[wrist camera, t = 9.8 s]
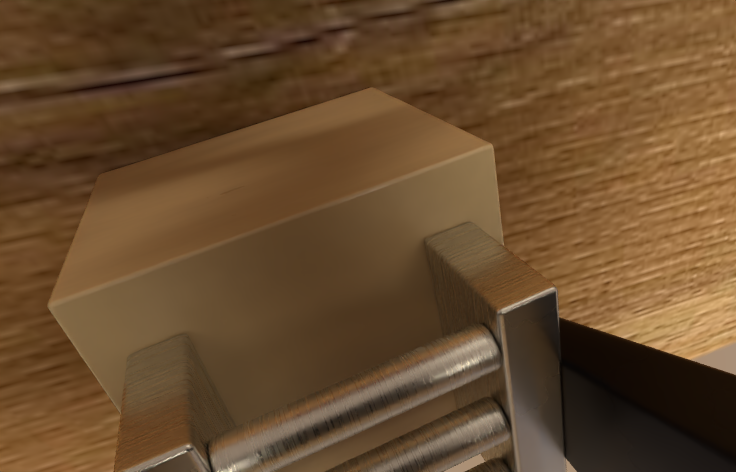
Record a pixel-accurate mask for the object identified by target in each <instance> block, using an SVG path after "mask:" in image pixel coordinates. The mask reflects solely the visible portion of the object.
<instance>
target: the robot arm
mask: <svg viewBox="0 0 736 472" xmlns="http://www.w3.org/2000/svg"><path fill="white" fill-rule="evenodd" d="M559 328H560V349H561V376H562V396H563V417H564V438H565V457H566V459H567V460H568V461H569V462H570V464H571V465H572V466H573V467H574V468H575V470H576V471H577V472H736V375H734V374H731V373H728V372H725V371H722V370H718V369H716V368H712V367H710V366H707V365H704V364H700V363H697V362H694V361H691V360H688V359H685V358H682V357H679V356H676V355H673V354H670V353H667V352H664V351H661V350H658V349H654V348H651V347H648V346H645V345H642V344H639V343H636V342H633V341H630V340H627V339H624V338H621V337H618V336H615V335H612V334H609V333H605V332H602V331H599V330H596V329H593V328H590V327H587V326H584V325H581V324H578V323H575V322H572V321H569V320H566V319H563V318H559Z"/></svg>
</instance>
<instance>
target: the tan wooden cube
mask: <svg viewBox="0 0 736 472" xmlns="http://www.w3.org/2000/svg"><path fill="white" fill-rule="evenodd" d="M466 222H473V223H474V224H476V225H477V226H478V227H479V228H481V229H482V230H483V231H485V232H486V233H487V234H489V235H490V236H491V237H492V238H494V239H495V240H496V241H498V242H499V243H500V244H502V245H503V246H504V240H503V231H502V222H501V212H500V203H499V194H498V185H497V175H496V166H495V157H494V147H493V145H492V144H491V143H489V142H487V141H485V140H483V139H481V138H479V137H476V136H474V135H472V134H470V133H468V132H466V131H464V130H462V129H460V128H457V127H455V126H453V125H451V124H449V123H447V122H445V121H443V120H441V119H439V118H436V117H434V116H432V115H430V114H428V113H426V112H424V111H422V110H420V109H417V108H415V107H413V106H411V105H409V104H407V103H405V102H403V101H401V100H399V99H396V98H394V97H392V96H390V95H388V94H386V93H384V92H382V91H380V90H378V89H375V88H373V87H370V88H367V89H364V90H361V91H358V92H355V93H352V94H349V95H345V96H342V97H339V98H336V99H333V100H330V101H327V102H324V103H321V104H317V105H314V106H311V107H308V108H305V109H302V110H299V111H296V112H292V113H289V114H286V115H283V116H280V117H277V118H274V119H271V120H268V121H264V122H261V123H258V124H255V125H252V126H249V127H246V128H243V129H240V130H236V131H233V132H230V133H227V134H224V135H221V136H218V137H215V138H212V139H208V140H205V141H202V142H199V143H196V144H193V145H190V146H187V147H184V148H180V149H177V150H174V151H171V152H168V153H165V154H162V155H159V156H155V157H152V158H149V159H146V160H143V161H140V162H137V163H134V164H131V165H127V166H124V167H121V168H118V169H115V170H112V171H109V172H106V173H103V174H100V175H99V176H98V178H97V180H96V183H95V185H94V188H93V190H92V193H91V196H90V198H89V201H88V203H87V206H86V208H85V211H84V213H83V216H82V218H81V221H80V223H79V226H78V228H77V231H76V233H75V236H74V238H73V241H72V243H71V246H70V248H69V251H68V254H67V256H66V259H65V261H64V264H63V266H62V269H61V271H60V274H59V276H58V279H57V281H56V284H55V286H54V289H53V291H52V294H51V296H50V299H49V301H48V309H49V310H50V312H51V313H52V314H53V316H54V317H55V319H56V320H57V322H58V323H59V325H60V326H61V328H62V329H63V331H64V332H65V333H66V335H67V336H68V338H69V339H70V341H71V342H72V344H73V345H74V347H75V348H76V350H77V351H78V352H79V354H80V355H81V357H82V358H83V360H84V361H85V363H86V364H87V366H88V367H89V369H90V370H91V372H92V373H93V374H94V376H95V377H96V379H97V380H98V382H99V383H100V385H101V386H102V388H103V389H104V391H105V392H106V393H107V395H108V396H109V398H110V399H111V401H112V402H113V404H114V405H115V407H116V408H117V410H118V411H119V412H120V414H121V407H122V399H123V391H124V382H125V374H126V366H127V358H128V356H129V355H130V354H132V353H134V352H136V351H139V350H141V349H144V348H147V347H149V346H152V345H154V344H157V343H159V342H162V341H164V340H167V339H170V338H172V337H175V336H177V335H180V334H185V333H186V334H187V335H188V336H189V337H190V339H191V341H192V343H193V344H194V346H195V348H196V350H197V352H198V354H199V356H200V358H201V360H202V362H203V363H204V365H205V367H206V369H207V371H208V373H209V375H210V377H211V379H212V381H213V382H214V384H215V386H216V388H217V390H218V392H219V394H220V396H221V398H222V400H223V401H224V403H225V405H226V407H227V409H228V411H229V413H230V415H231V417H232V419H233V420H234V422H235V424H236V426H238V425H241V424H243V423H245V422H248V421H250V420H252V419H254V418H257V417H259V416H261V415H264V414H266V413H268V412H271V411H273V410H275V409H278V408H280V407H282V406H284V405H287V404H289V403H291V402H294V401H296V400H298V399H301V398H303V397H305V396H308V395H310V394H312V393H315V392H317V391H319V390H321V389H324V388H326V387H328V386H331V385H333V384H335V383H338V382H340V381H342V380H345V379H347V378H349V377H351V376H354V375H356V374H358V373H361V372H363V371H365V370H368V369H370V368H372V367H375V366H377V365H379V364H382V363H384V362H386V361H388V360H391V359H393V358H395V357H398V356H400V355H402V354H405V353H407V352H409V351H412V350H414V349H416V348H418V347H421V346H423V345H425V344H428V343H430V342H432V341H435V340H437V339H439V338H442V337H443V334H442V329H441V324H440V319H439V314H438V309H437V304H436V299H435V294H434V289H433V284H432V279H431V274H430V269H429V264H428V259H427V254H426V249H425V244H424V240H425V239H426V238H428V237H430V236H433V235H435V234H438V233H440V232H443V231H446V230H448V229H451V228H453V227H456V226H458V225H461V224H463V223H466ZM455 410H457V405H456V400H455V395H454V390H452V391H450V392H447V393H445V394H443V395H441V396H439V397H436V398H434V399H432V400H430V401H428V402H426V403H423V404H421V405H419V406H417V407H415V408H412V409H410V410H408V411H406V412H404V413H401V414H399V415H397V416H395V417H393V418H390V419H388V420H386V421H384V422H382V423H380V424H377V425H375V426H373V427H371V428H369V429H366V430H364V431H362V432H360V433H358V434H355V435H353V436H351V437H349V438H347V439H345V440H342V441H340V442H338V443H336V444H334V445H331V446H329V447H327V448H325V449H323V450H320V451H318V452H316V453H314V454H312V455H309V456H307V457H305V458H303V459H301V460H299V461H296V462H294V463H292V464H290V465H288V466H285V467H283V468H281V469H279V470H277V471H274V472H324V471H326V470H329V469H331V468H333V467H335V466H337V465H339V464H342V463H344V462H346V461H348V460H350V459H352V458H354V457H357V456H359V455H361V454H363V453H365V452H367V451H369V450H372V449H374V448H376V447H378V446H380V445H382V444H384V443H387V442H389V441H391V440H393V439H395V438H397V437H400V436H402V435H404V434H406V433H408V432H410V431H412V430H415V429H417V428H419V427H421V426H423V425H425V424H427V423H430V422H432V421H434V420H436V419H438V418H440V417H442V416H445V415H447V414H449V413H451V412H453V411H455Z"/></svg>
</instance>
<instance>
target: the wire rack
mask: <svg viewBox="0 0 736 472" xmlns="http://www.w3.org/2000/svg"><path fill="white" fill-rule="evenodd" d="M424 244H425V249H426V254H427V259H428V264H429V269H430V274H431V279H432V284H433V289H434V294H435V299H436V304H437V309H438V314H439V319H440V324H441V329H442V334H443V337H442V338H439V339H437V340H435V341H432V342H430V343H428V344H425V345H423V346H421V347H418V348H416V349H414V350H412V351H409V352H407V353H405V354H402V355H400V356H398V357H395V358H393V359H391V360H388V361H386V362H384V363H382V364H379V365H377V366H375V367H372V368H370V369H368V370H365V371H363V372H361V373H358V374H356V375H354V376H351V377H349V378H347V379H345V380H342V381H340V382H338V383H335V384H333V385H331V386H328V387H326V388H324V389H321V390H319V391H317V392H315V393H312V394H310V395H308V396H305V397H303V398H301V399H298V400H296V401H294V402H291V403H289V404H287V405H284V406H282V407H280V408H278V409H275V410H273V411H271V412H268V413H266V414H264V415H261V416H259V417H257V418H254V419H252V420H250V421H248V422H245V423H243V424H241V425H238V426H236V424H235V422H234V420H233V419H232V417H231V415H230V413H229V411H228V409H227V407H226V405H225V403H224V401H223V400H222V398H221V396H220V394H219V392H218V390H217V388H216V386H215V384H214V382H213V381H212V379H211V377H210V375H209V373H208V371H207V369H206V367H205V365H204V363H203V362H202V360H201V358H200V356H199V354H198V352H197V350H196V348H195V346H194V344H193V343H192V341H191V339H190V337H189V336H188V335H187V334H186V333H185V334H180V335H177V336H175V337H172V338H170V339H167V340H164V341H162V342H159V343H157V344H154V345H152V346H149V347H147V348H144V349H141V350H139V351H136V352H134V353H132V354H130V355H129V356H128V358H127V366H126V374H125V382H124V391H123V399H122V407H121V415H120V424H119V432H118V440H117V448H116V457H115V465H114V472H274V471H277V470H279V469H281V468H283V467H285V466H288V465H290V464H292V463H294V462H296V461H299V460H301V459H303V458H305V457H307V456H309V455H312V454H314V453H316V452H318V451H320V450H323V449H325V448H327V447H329V446H331V445H334V444H336V443H338V442H340V441H342V440H345V439H347V438H349V437H351V436H353V435H355V434H358V433H360V432H362V431H364V430H366V429H369V428H371V427H373V426H375V425H377V424H380V423H382V422H384V421H386V420H388V419H390V418H393V417H395V416H397V415H399V414H401V413H404V412H406V411H408V410H410V409H412V408H415V407H417V406H419V405H421V404H423V403H426V402H428V401H430V400H432V399H434V398H436V397H439V396H441V395H443V394H445V393H447V392H450V391H452V390H454V395H455V400H456V405H457V410H455V411H453V412H451V413H449V414H447V415H445V416H442V417H440V418H438V419H436V420H434V421H432V422H430V423H427V424H425V425H423V426H421V427H419V428H417V429H415V430H412V431H410V432H408V433H406V434H404V435H402V436H400V437H397V438H395V439H393V440H391V441H389V442H387V443H384V444H382V445H380V446H378V447H376V448H374V449H372V450H369V451H367V452H365V453H363V454H361V455H359V456H357V457H354V458H352V459H350V460H348V461H346V462H344V463H342V464H339V465H337V466H335V467H333V468H331V469H329V470H326V471H324V472H444V471H445V470H448V469H450V468H452V467H454V466H456V465H458V464H460V463H462V462H464V461H466V460H468V459H470V458H472V457H474V456H476V455H478V454H481V455H482V457H483V458H484V460H485V461H486V462H484V463H482V464H480V465H477V466H476V467H474V468H471V469H470V470H467V471H465V472H566V457H565V438H564V417H563V396H562V376H561V349H560V328H559V308H558V290H557V288H556V287H555V285H554V284H552V283H551V282H550V281H548V280H547V279H546V278H545V277H543V276H542V275H541V274H539V273H538V272H537V271H535V270H534V269H533V268H532V267H530V266H529V265H528V264H526V263H525V262H524V261H522V260H521V259H520V258H519V257H517V256H516V255H515V254H513V253H512V252H511V251H509V250H508V249H507V248H505V247H504V246H503V245H502V244H500V243H499V242H498V241H496V240H495V239H494V238H492V237H491V236H490V235H489V234H487V233H486V232H485V231H483V230H482V229H481V228H479V227H478V226H477V225H476V224H474V223H473V222H466V223H463V224H461V225H458V226H456V227H453V228H451V229H448V230H446V231H443V232H440V233H438V234H435V235H433V236H430V237H428V238H426V239H425V240H424Z"/></svg>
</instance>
